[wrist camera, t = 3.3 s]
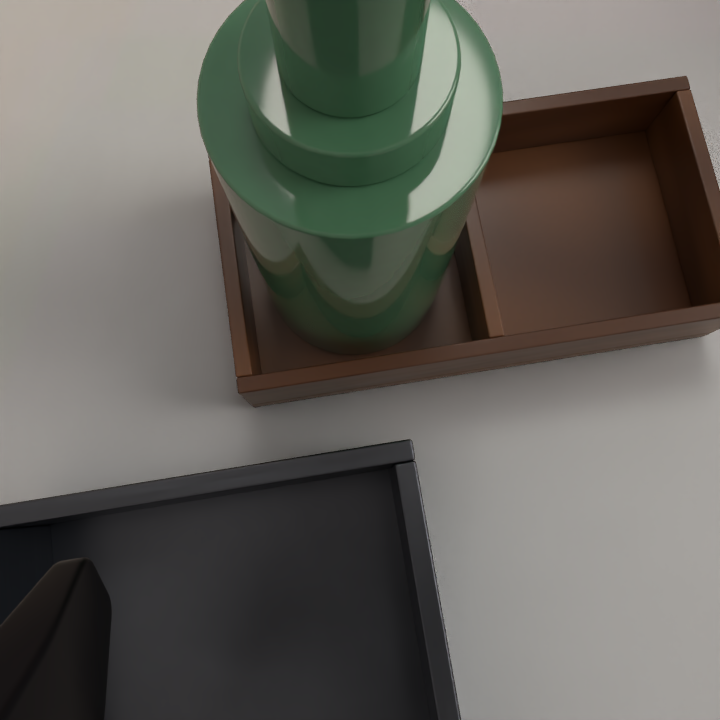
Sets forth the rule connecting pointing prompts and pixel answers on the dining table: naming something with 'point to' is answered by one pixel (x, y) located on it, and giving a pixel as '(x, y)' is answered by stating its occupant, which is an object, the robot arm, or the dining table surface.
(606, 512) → the dining table surface
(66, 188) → the dining table surface
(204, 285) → the dining table surface
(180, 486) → the tray
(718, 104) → the dining table surface
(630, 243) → the wooden box
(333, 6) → the green corked bottle
